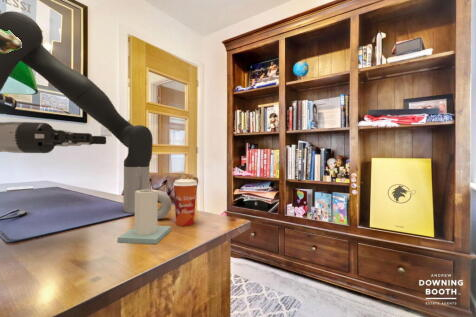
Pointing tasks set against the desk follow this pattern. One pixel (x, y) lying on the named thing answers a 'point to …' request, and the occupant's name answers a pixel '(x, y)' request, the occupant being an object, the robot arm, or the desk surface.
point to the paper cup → (185, 201)
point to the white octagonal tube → (146, 212)
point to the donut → (163, 204)
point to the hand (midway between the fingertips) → (99, 139)
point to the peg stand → (144, 236)
